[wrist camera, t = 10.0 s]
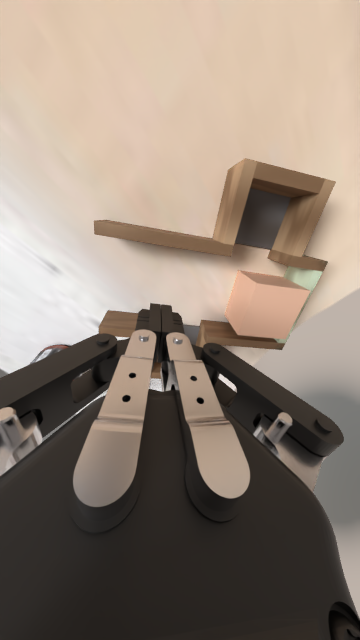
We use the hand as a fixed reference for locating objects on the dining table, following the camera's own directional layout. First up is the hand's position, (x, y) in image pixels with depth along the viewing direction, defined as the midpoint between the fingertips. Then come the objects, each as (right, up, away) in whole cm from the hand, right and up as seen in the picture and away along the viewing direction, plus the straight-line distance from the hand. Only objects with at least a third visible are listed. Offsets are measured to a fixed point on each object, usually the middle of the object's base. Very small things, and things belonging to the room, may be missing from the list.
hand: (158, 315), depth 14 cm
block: (+11, +3, +11) cm, 15 cm away
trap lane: (+4, +4, +9) cm, 11 cm away
